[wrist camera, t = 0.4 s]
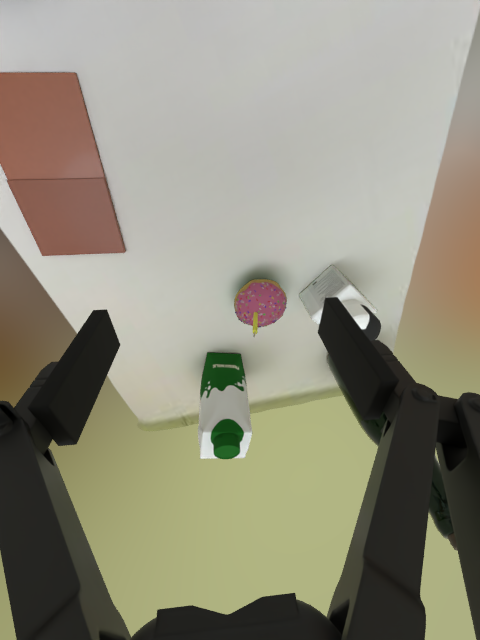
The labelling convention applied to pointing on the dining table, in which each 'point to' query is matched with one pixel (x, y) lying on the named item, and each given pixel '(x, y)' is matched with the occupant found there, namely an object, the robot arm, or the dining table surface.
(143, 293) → the dining table surface
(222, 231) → the dining table surface
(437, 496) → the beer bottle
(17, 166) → the napkin
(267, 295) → the cupcake
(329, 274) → the container
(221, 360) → the milk carton
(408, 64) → the dining table surface
